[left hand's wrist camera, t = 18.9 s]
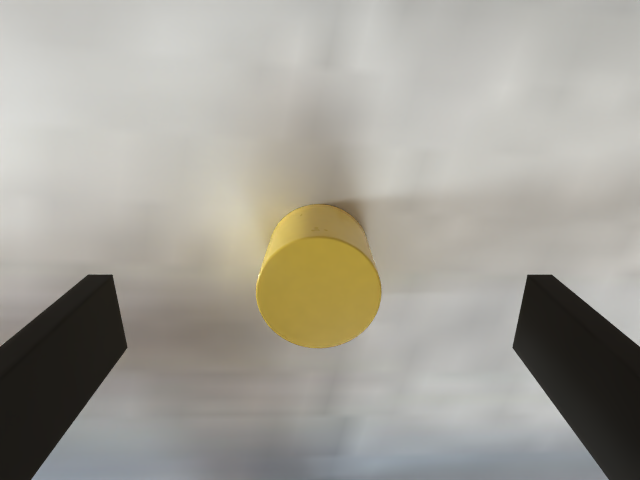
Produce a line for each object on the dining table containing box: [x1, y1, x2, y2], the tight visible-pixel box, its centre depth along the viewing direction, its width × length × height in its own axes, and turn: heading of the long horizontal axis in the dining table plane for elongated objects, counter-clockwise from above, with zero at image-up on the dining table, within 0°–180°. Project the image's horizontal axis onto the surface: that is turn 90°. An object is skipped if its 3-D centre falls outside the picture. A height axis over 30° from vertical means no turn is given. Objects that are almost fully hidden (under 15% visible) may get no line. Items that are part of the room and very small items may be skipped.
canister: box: [256, 204, 381, 348], centre depth 17 cm, size 5×5×4 cm
